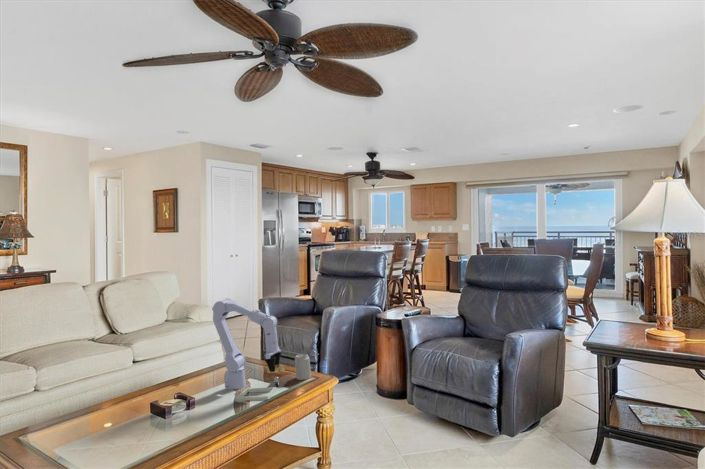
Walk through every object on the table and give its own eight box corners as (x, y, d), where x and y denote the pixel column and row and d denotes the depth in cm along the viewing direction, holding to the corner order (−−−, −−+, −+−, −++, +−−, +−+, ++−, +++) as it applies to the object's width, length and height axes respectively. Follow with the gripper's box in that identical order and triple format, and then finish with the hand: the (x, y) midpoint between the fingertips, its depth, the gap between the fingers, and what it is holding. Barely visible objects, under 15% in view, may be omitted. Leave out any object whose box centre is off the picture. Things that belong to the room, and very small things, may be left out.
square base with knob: (266, 389, 203) (265, 380, 203) (272, 383, 211) (271, 374, 211) (282, 388, 202) (281, 379, 202) (287, 383, 210) (286, 374, 210)
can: (310, 380, 210) (308, 356, 210) (295, 382, 210) (293, 357, 210) (312, 375, 218) (309, 352, 218) (297, 377, 218) (295, 353, 218)
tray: (236, 402, 190) (236, 397, 190) (246, 393, 201) (246, 388, 201) (268, 401, 188) (268, 396, 188) (276, 391, 199) (276, 387, 199)
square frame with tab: (267, 373, 204) (266, 368, 204) (271, 369, 209) (270, 364, 209) (283, 372, 203) (282, 367, 203) (286, 368, 208) (286, 363, 208)
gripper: (274, 344, 199) (277, 374, 199) (284, 337, 213) (286, 364, 213) (260, 345, 200) (262, 374, 200) (270, 338, 214) (273, 365, 214)
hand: (274, 369), depth 206 cm, fingers closed on square frame with tab, 5 cm apart
